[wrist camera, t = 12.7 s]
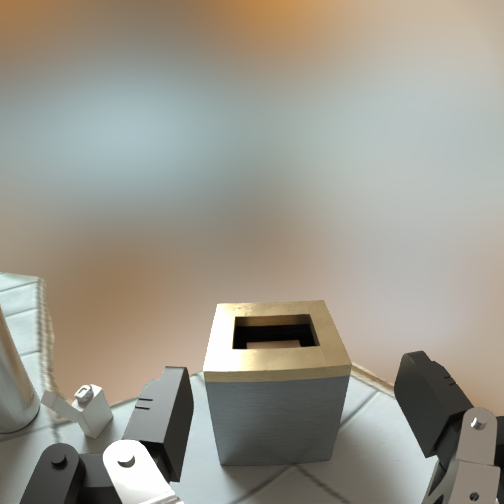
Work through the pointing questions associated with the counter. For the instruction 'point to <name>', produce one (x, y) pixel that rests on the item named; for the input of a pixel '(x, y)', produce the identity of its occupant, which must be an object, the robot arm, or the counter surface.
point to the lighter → (83, 409)
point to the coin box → (275, 383)
